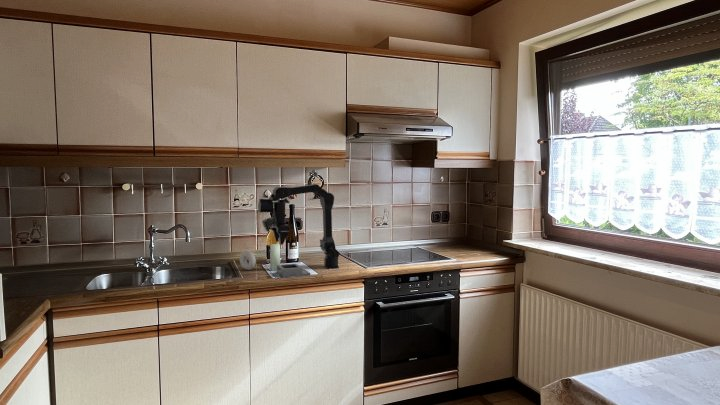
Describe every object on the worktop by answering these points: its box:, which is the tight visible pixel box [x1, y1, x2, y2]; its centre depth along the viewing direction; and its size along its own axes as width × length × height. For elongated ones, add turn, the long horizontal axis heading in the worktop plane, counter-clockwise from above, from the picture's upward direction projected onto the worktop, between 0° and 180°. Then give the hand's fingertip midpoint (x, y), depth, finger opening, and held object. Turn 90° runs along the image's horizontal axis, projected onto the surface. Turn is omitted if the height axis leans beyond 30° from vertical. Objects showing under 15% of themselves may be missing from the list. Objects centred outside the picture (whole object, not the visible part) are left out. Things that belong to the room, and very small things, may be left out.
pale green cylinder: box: [269, 243, 281, 272], centre depth 230 cm, size 5×5×13 cm
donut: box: [239, 250, 257, 271], centre depth 229 cm, size 10×4×10 cm, turn 58°
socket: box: [275, 263, 311, 279], centre depth 223 cm, size 14×11×4 cm
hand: (279, 243), depth 225 cm, fingers open, 9 cm apart
